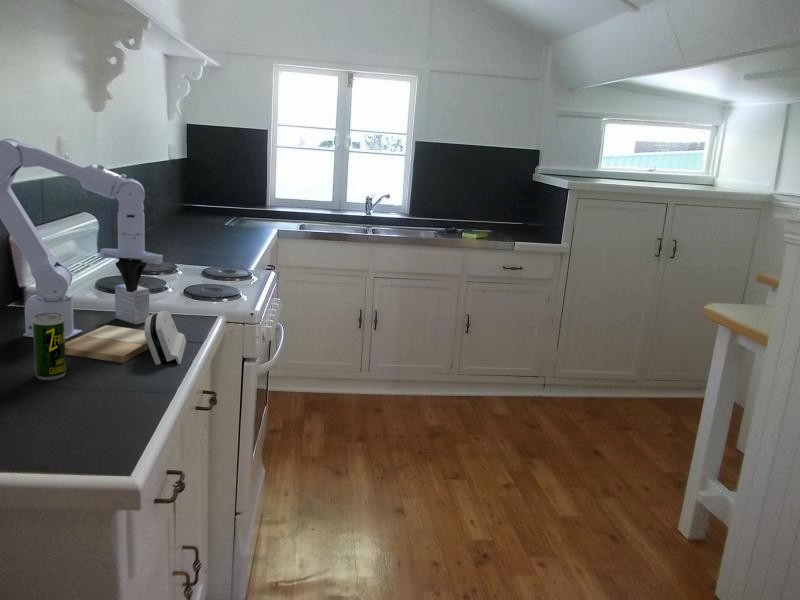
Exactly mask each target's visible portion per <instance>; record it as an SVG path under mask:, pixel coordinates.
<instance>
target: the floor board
mask: <svg viewBox="0 0 800 600" xmlns="http://www.w3.org/2000/svg"><path fill="white" fill-rule="evenodd" d="M82 336H87V337H94V338H101V339H108V340H115V341H122V342H129V343H136V344H143V345H144V352H145V351H148V350H150V348H149V346H148V343H147V340H146V338H145V329H138V328H137V329H136V328H130V327H123V326H116V325H108V324H105V325H104V326H101V327H99V328H97V329H94V330H92V331H90V332H87V333H84V334H82Z"/></svg>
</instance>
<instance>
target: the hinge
mask: <svg viewBox="0 0 800 600" xmlns="http://www.w3.org/2000/svg"><path fill="white" fill-rule="evenodd" d="M144 330H145V338H146V340H147V343H148V346H149V348H150V349H149V351H150V353H151V356H152V359H153V361H154V365H156V366H157V365H160V364H162V362H170V361H173V360H175V361H176V363H177V365H181V363H182V361H183V360H182V358H183V356H184V352H185V348H186V344H187V339H186V336H185V334H184V333H182V332H180V331H178V329H177V327H176V324H175V321H174V319H173V317H172V314H171V312H170V311H169V310H160V311H158V312H153V313H152V314H150V316H148V317H147V319H146V322H145V323H144Z"/></svg>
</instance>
